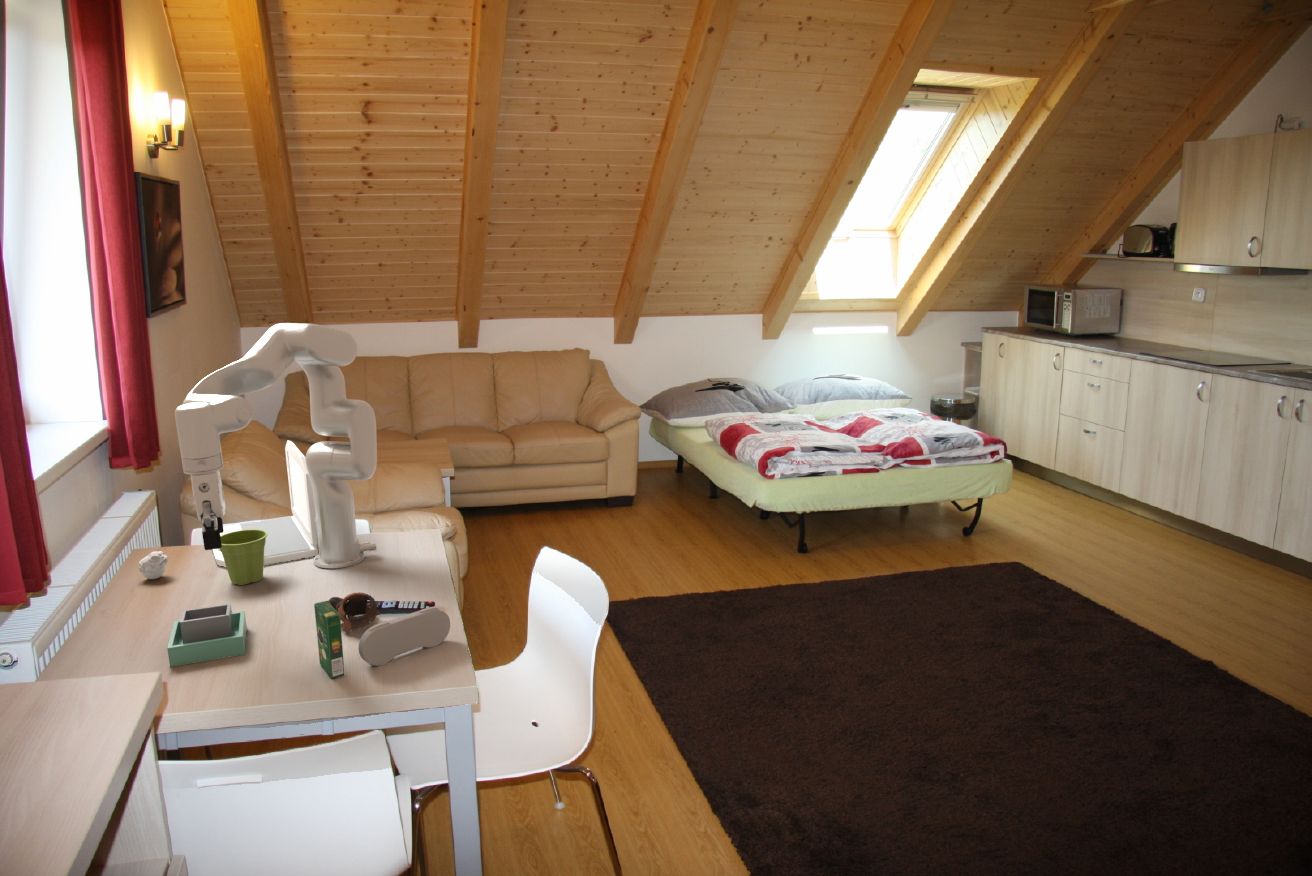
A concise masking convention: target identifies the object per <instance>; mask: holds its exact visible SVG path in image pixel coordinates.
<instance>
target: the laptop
mask: <svg viewBox="0 0 1312 876" xmlns="http://www.w3.org/2000/svg"><path fill="white" fill-rule="evenodd" d="M284 451H285V461H286V462H285V463H286V471H287V478H288V480H287V481H288V488H289V498H290V509H291V513H292V516H291V515H288V516H287V515H286V516H281V517H275V518H269V519H262V520H256V521H257V522H255V521H248V522H243V523H238V524H232V525H226V526H223V529H224V532H223V533H220V536H221V535H223V534H226V533H230V532H234V531H240V530H249V529H259V530H265V531H267V532H268V535H267V537H266V542H265V546H264V564H263V567H265V565H266V566H270V565H269V564H271V565H274V564H273V563H277V564H280V563H279V562H282V563H286V561H288V562H292V561H291V560H294V561H297V560H296V559H299V560H302V559H301V558H305V559H309V557H310V558H314V557H313V556H316V555H317V554H319V548H318V536H317V526H316V516H315V506H314V496H313V489H312V484H311V480H310V476H309V473H308V470H307V467H306V455H305V454H303V452H301V451H300V449H299V448H298V446H296V444H295V443H294V442H293V441H292V440H286V444H285V447H284ZM258 521H260V522H258ZM212 552H213V555H214V558H215V561H216V564H217V566H218V565H220V566H219V567H221V566H225V567H226V564H225V561H224V558H223V555H222V552H221V551H220V549H212Z"/></svg>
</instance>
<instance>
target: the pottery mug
mask: <svg viewBox="0 0 1312 876" xmlns="http://www.w3.org/2000/svg"><path fill="white" fill-rule="evenodd" d="M327 601H328V602H329V603H330V604H331V605H332V606H333V607H334V609H335V610H336V611H337V612H338V613H339V614H340V621H341V622H342V623H343V624H342V627H341V630H342V632H344V633H346V634H350V633H351V631H356V630H358V629H360V628H364V627H365V626H369V625H370V622H371V623H372V622H373V621H374V620H375V618H376V617H377V616H380V614H381V613H380V612H379V610H378V608H377V606H378V605H379V603H378V602H377V601H376V600H375V598H374V597H372V596H371V595H370V594H369V593H366V592H352V593H350V594H348V595H346V596H344V597H343V598H342V597H339V596H333V597H330V598H329V600H327ZM368 601H369V602H370V605H371V607H370V606H369V605H367V604H368Z"/></svg>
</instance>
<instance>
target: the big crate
mask: <svg viewBox="0 0 1312 876" xmlns="http://www.w3.org/2000/svg"><path fill="white" fill-rule="evenodd" d="M232 618H233V626H234V636H231V637H225V638H219V639H212V640H206V641H200V642H193V643H187V644H183V640H182V633H181V626H180V620H174V621H173V624H172V629H171V632H170V635H169V636H170V637H169V640H168V644H167V649H166V650H167V655H168V656H167V657H168V663H169V667H171V668H172V667H177V665H178V666H183V665H190V664H195V663H194V662H196V663H200V662H199V661H202V662H208V661H213V660H218V659H219V658H220V659H224V658H223V657H226V658H230V657H229V656H232V657H238V655H239V656H245V654H246V644H247V643H246V642H247V628H248V627H247V619H246V610H239V611H234V612H232ZM220 659H219V660H220ZM189 663H190V664H189Z"/></svg>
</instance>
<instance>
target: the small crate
mask: <svg viewBox="0 0 1312 876" xmlns="http://www.w3.org/2000/svg"><path fill="white" fill-rule="evenodd" d="M232 611H233V610H232V605H231V603H226V604H225V603H223V604H219V605H211V606H204V607H197V608H191V609H190V608H189V609H183V610H182V613H181V617H180V620H179V621H180V626H181V633H182V640H183V644H187V643H193V642H200V641H206V640H212V639H219V638H225V637H231V636H234V626H233V618H232V613H233V612H232Z"/></svg>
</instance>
